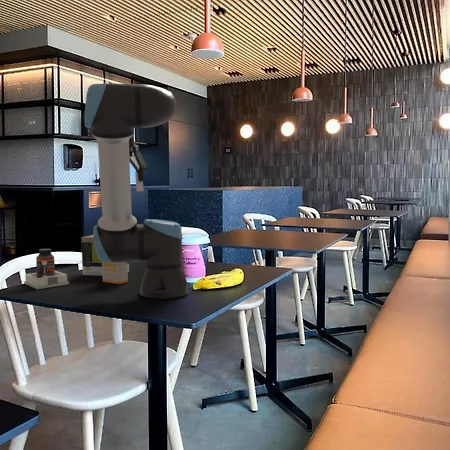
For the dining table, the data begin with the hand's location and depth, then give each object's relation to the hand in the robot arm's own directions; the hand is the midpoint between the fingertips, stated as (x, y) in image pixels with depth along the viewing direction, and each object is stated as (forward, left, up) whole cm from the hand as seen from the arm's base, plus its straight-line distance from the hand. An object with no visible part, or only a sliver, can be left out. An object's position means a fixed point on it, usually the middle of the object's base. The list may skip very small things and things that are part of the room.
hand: (127, 193), depth 181 cm
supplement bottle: (+9, +28, -30) cm, 42 cm away
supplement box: (-5, +9, -31) cm, 33 cm away
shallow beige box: (+9, +28, -31) cm, 42 cm away
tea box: (+11, +4, -31) cm, 33 cm away
